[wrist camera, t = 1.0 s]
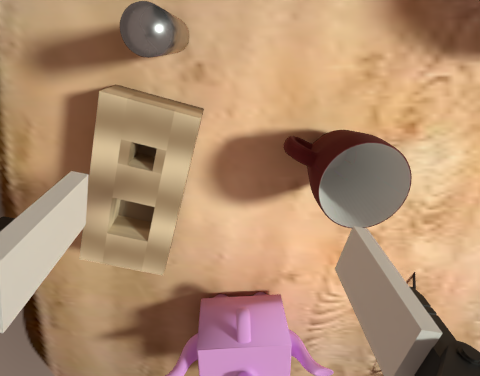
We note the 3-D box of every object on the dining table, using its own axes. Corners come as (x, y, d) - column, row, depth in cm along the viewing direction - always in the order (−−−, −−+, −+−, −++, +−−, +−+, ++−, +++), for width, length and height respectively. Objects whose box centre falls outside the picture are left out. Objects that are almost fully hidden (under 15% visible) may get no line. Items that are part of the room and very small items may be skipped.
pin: (159, 11, 31) (123, -7, 20) (192, 22, 32) (176, 10, 21) (152, 47, 32) (116, 49, 21) (185, 57, 33) (166, 63, 22)
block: (116, 84, 34) (99, 91, 29) (203, 108, 35) (200, 118, 30) (95, 234, 40) (79, 259, 36) (170, 250, 42) (163, 275, 37)
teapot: (233, 366, 50) (235, 446, 40) (167, 318, 46) (151, 394, 36) (313, 311, 47) (338, 383, 37) (250, 252, 42) (258, 317, 32)
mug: (264, 172, 38) (277, 212, 29) (286, 102, 35) (308, 122, 26) (349, 192, 40) (387, 237, 30) (377, 127, 37) (429, 154, 27)
